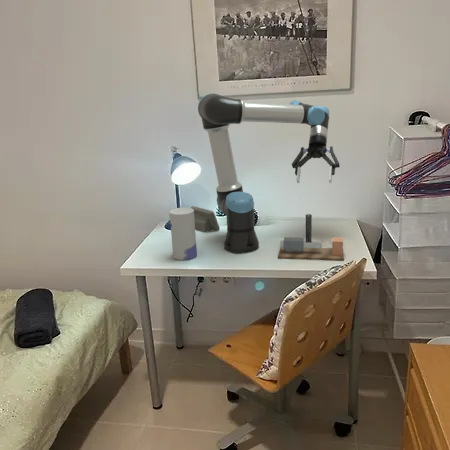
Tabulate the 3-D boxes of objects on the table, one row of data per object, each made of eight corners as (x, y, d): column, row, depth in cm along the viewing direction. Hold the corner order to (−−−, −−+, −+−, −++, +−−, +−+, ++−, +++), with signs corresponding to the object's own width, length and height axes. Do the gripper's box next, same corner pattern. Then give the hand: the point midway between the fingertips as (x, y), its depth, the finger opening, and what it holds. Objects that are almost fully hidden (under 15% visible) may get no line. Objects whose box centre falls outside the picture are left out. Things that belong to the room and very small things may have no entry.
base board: (277, 258, 204) (277, 256, 204) (280, 248, 214) (280, 246, 214) (343, 260, 199) (343, 258, 199) (343, 250, 209) (343, 248, 209)
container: (175, 251, 217) (172, 207, 211) (198, 251, 216) (195, 206, 210) (171, 260, 208) (167, 214, 201) (194, 260, 206) (191, 213, 200)
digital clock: (221, 231, 241) (220, 209, 237) (205, 235, 236) (203, 213, 233) (204, 222, 254) (203, 202, 250) (188, 226, 249) (187, 205, 246)
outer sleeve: (283, 253, 207) (283, 240, 205) (284, 249, 210) (284, 237, 209) (303, 254, 205) (303, 241, 203) (303, 250, 209) (303, 237, 207)
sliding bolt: (280, 247, 207) (279, 215, 203) (280, 245, 209) (280, 213, 205) (321, 248, 204) (322, 216, 199) (321, 246, 206) (322, 214, 202)
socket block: (332, 255, 202) (332, 241, 200) (332, 250, 207) (332, 237, 205) (342, 255, 201) (342, 241, 200) (342, 251, 206) (342, 237, 204)
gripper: (348, 142, 219) (344, 185, 211) (291, 144, 228) (286, 185, 220) (346, 132, 213) (343, 176, 205) (288, 135, 221) (282, 177, 213)
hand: (313, 181), depth 212 cm, fingers open, 13 cm apart
